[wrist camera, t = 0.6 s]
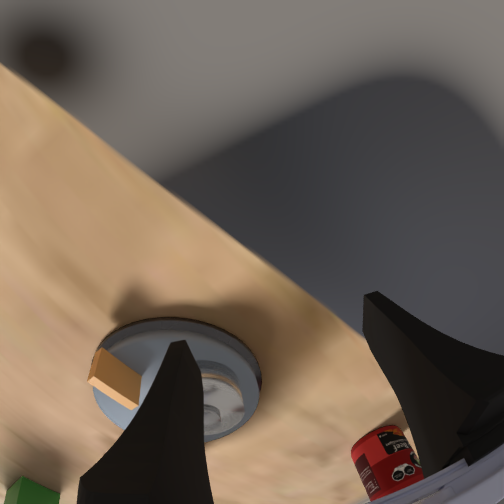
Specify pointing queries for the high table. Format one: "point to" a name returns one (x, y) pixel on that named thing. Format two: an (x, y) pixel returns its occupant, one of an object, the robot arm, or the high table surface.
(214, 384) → the cover
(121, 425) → the turntable
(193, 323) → the turntable base
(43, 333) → the high table surface
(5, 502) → the green cereal box
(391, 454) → the canned food
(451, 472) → the robot arm
